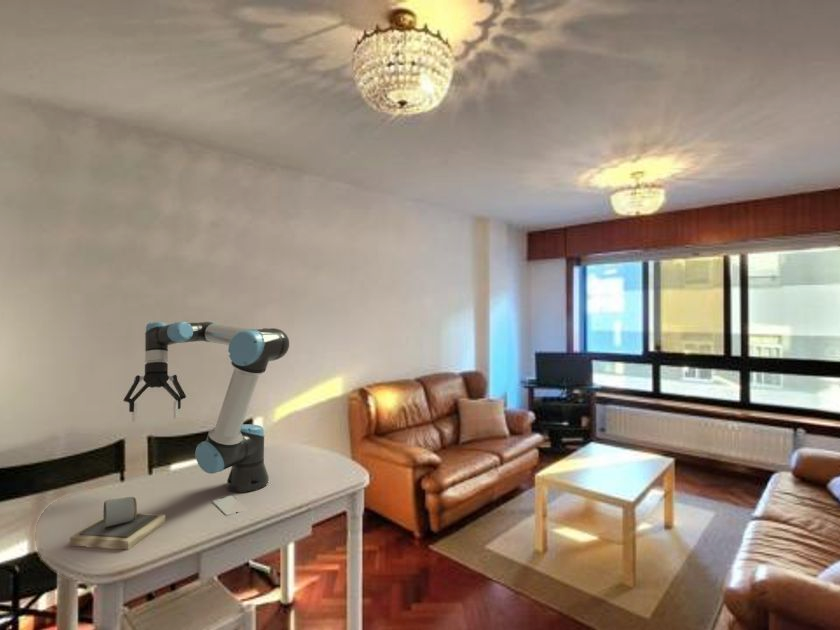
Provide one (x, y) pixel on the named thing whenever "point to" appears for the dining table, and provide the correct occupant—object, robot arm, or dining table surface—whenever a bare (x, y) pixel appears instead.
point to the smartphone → (225, 503)
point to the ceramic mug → (119, 511)
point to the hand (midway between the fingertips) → (155, 419)
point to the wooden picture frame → (118, 532)
